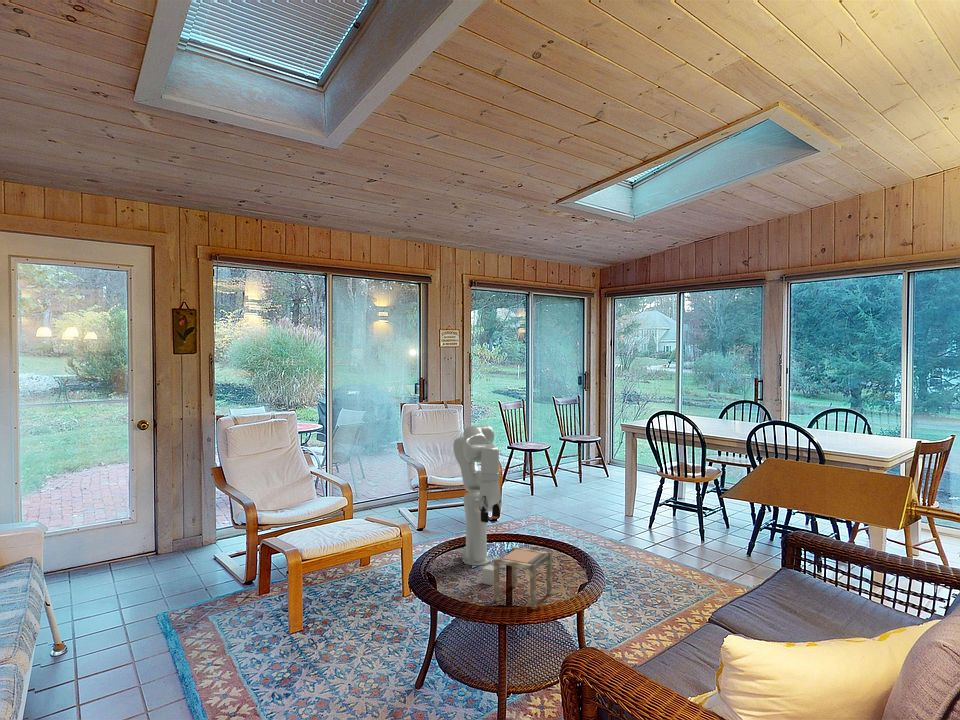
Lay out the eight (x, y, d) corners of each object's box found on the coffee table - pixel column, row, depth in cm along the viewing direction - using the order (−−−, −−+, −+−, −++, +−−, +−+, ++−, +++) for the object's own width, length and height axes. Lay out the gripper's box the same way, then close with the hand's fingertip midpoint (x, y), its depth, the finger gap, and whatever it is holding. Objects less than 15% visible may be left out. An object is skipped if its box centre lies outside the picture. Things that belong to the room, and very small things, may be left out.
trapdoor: (501, 560, 200) (501, 557, 200) (515, 551, 211) (515, 548, 211) (530, 566, 194) (530, 562, 194) (543, 556, 205) (543, 553, 205)
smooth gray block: (482, 583, 216) (482, 568, 216) (488, 579, 220) (488, 564, 221) (493, 585, 214) (493, 570, 214) (499, 581, 218) (499, 566, 218)
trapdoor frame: (493, 600, 199) (493, 558, 199) (513, 585, 213) (513, 546, 214) (534, 610, 191) (534, 566, 191) (552, 593, 205) (551, 553, 205)
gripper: (492, 473, 228) (492, 513, 227) (471, 479, 213) (471, 523, 212) (507, 474, 224) (508, 515, 223) (487, 481, 209) (488, 525, 208)
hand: (490, 519), depth 218 cm, fingers open, 9 cm apart
